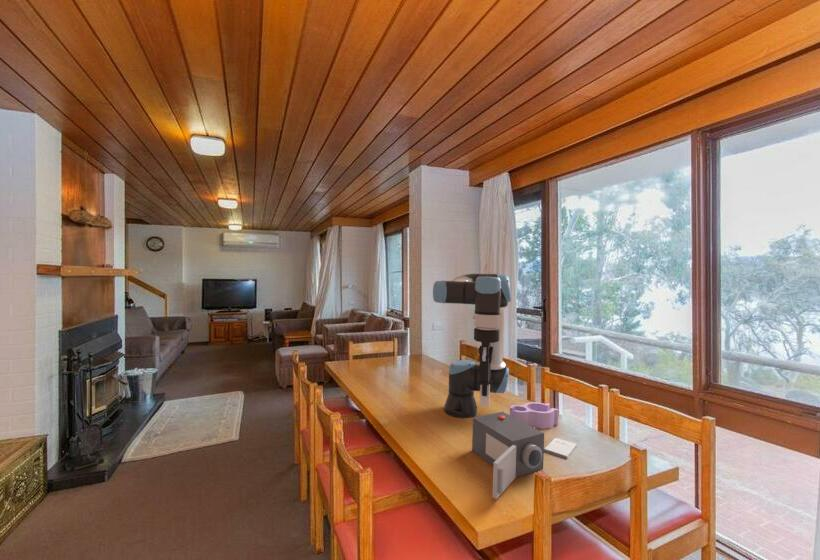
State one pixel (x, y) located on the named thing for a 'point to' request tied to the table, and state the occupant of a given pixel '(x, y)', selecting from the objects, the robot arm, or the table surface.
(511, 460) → the side door
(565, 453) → the external hard drive
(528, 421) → the clip
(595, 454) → the table surface
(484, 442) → the camera housing
